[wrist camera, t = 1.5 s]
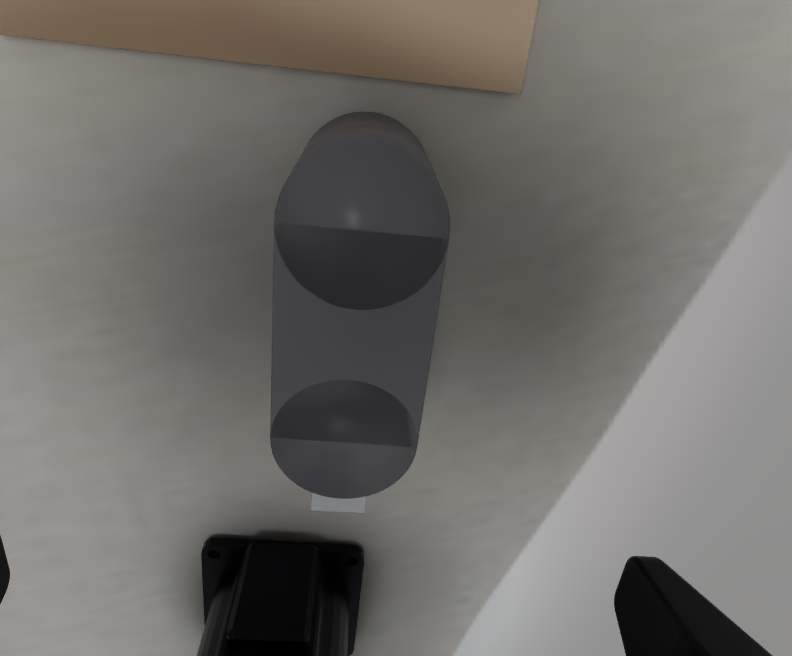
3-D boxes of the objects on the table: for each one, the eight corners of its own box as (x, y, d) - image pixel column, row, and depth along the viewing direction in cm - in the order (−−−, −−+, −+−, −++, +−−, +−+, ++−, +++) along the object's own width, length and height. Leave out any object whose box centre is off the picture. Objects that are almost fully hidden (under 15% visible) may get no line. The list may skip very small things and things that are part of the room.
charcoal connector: (394, 458, 23) (399, 562, 18) (288, 451, 23) (268, 555, 18) (439, 119, 17) (462, 150, 13) (301, 104, 17) (275, 130, 13)
